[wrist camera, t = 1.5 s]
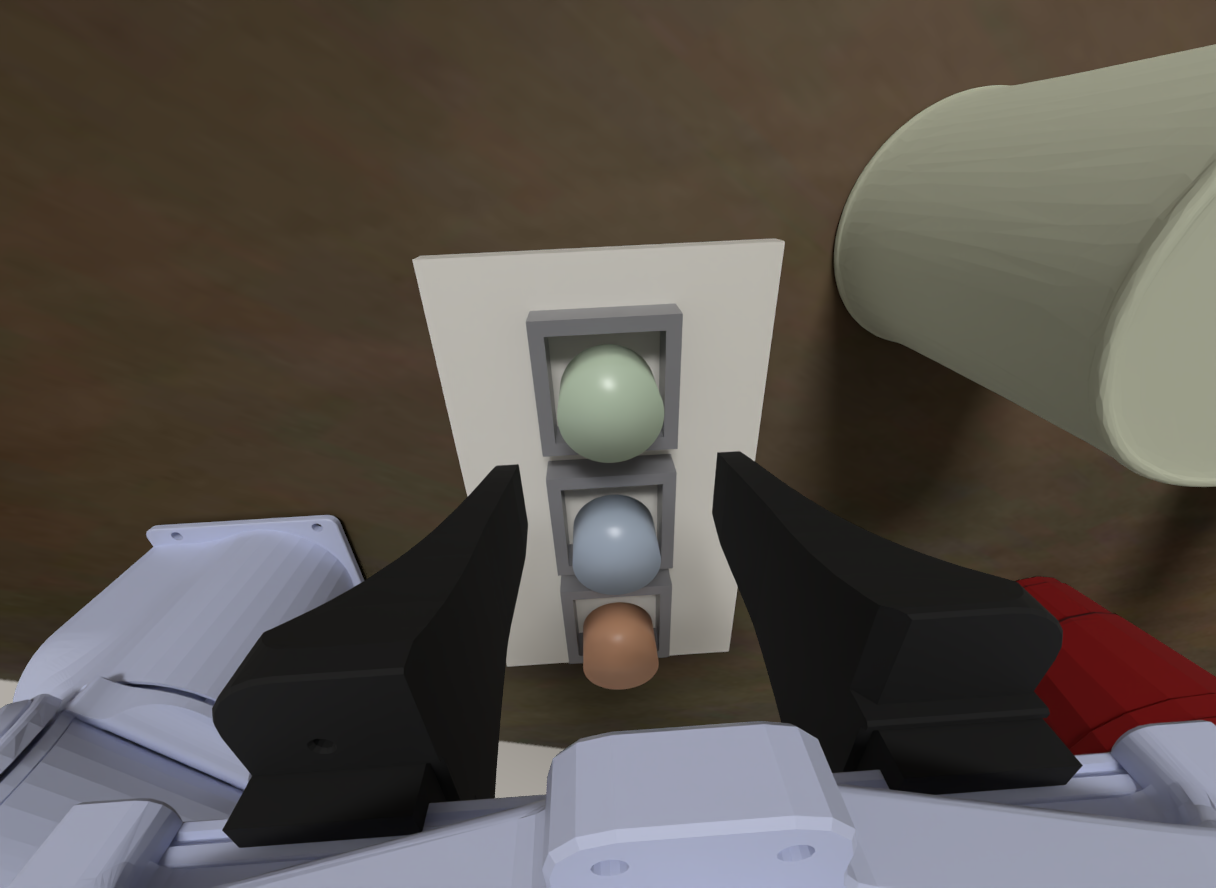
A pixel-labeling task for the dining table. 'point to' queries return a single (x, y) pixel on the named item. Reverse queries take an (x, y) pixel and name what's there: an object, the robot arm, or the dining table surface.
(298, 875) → the robot arm
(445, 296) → the console
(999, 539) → the dining table surface
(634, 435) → the sage button
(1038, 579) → the plastic cup
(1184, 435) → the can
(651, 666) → the peach button
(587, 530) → the slate button
